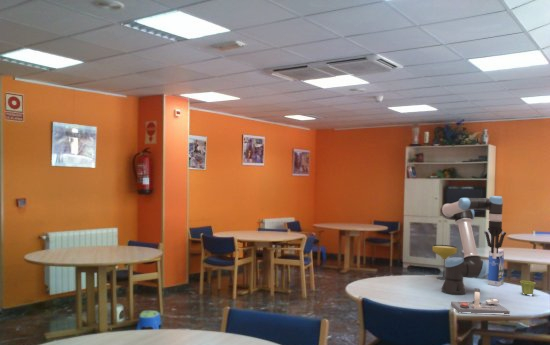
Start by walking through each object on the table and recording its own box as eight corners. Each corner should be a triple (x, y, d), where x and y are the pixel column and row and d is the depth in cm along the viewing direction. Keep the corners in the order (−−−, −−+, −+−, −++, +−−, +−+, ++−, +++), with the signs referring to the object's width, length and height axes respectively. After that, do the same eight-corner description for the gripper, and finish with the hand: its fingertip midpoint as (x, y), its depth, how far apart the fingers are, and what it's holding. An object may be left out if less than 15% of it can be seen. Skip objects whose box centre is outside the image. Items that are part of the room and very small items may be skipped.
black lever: (474, 304, 283) (474, 289, 283) (472, 302, 286) (472, 288, 286) (481, 304, 283) (481, 289, 283) (479, 303, 286) (479, 288, 286)
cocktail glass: (460, 279, 367) (461, 247, 367) (449, 282, 354) (450, 249, 354) (438, 275, 380) (439, 244, 380) (427, 278, 367) (428, 245, 368)
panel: (459, 313, 273) (459, 304, 273) (451, 305, 289) (451, 297, 289) (509, 315, 271) (509, 307, 271) (498, 307, 287) (498, 300, 287)
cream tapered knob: (474, 308, 274) (474, 292, 274) (472, 306, 277) (472, 291, 277) (481, 308, 274) (481, 293, 274) (479, 306, 277) (479, 291, 277)
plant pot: (530, 293, 327) (530, 280, 327) (538, 296, 318) (538, 284, 318) (517, 293, 327) (517, 280, 327) (524, 296, 317) (525, 283, 317)
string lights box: (498, 286, 346) (499, 251, 346) (487, 284, 351) (488, 249, 351) (503, 283, 356) (504, 249, 356) (492, 282, 361) (493, 248, 361)
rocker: (488, 304, 282) (487, 301, 282) (485, 302, 286) (485, 299, 286) (498, 302, 281) (498, 299, 281) (496, 301, 285) (495, 297, 285)
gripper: (486, 220, 293) (485, 259, 293) (508, 221, 293) (507, 259, 292) (482, 219, 301) (481, 256, 301) (503, 220, 300) (502, 257, 300)
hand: (494, 258), depth 297 cm, fingers closed
